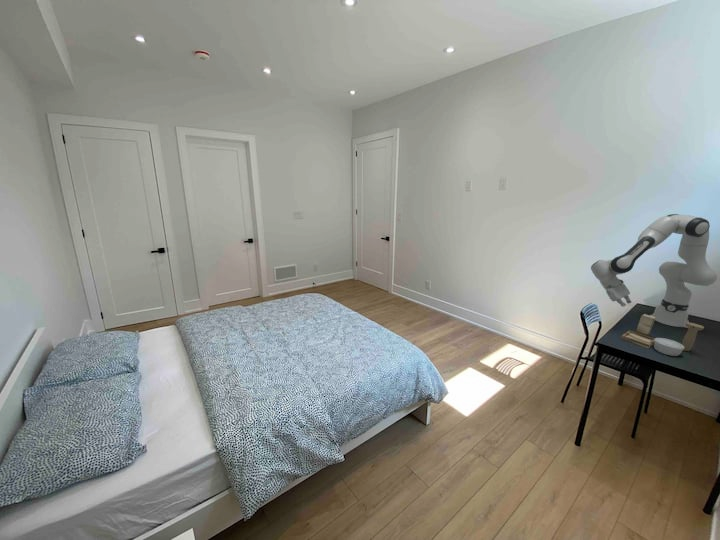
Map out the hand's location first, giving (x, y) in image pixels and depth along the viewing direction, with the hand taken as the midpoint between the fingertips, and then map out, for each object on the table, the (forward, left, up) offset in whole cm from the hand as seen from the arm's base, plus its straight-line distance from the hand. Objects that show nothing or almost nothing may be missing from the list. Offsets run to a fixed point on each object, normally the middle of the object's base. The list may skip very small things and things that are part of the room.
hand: (627, 304), depth 178 cm
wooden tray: (+11, +12, -15) cm, 22 cm away
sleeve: (0, +11, -15) cm, 19 cm away
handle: (+1, +29, -16) cm, 33 cm away
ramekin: (+12, +24, -16) cm, 31 cm away
